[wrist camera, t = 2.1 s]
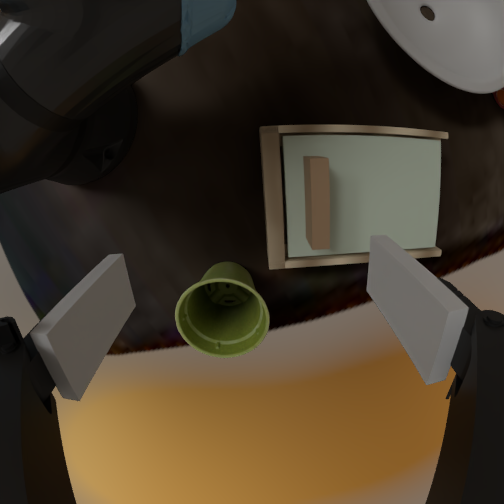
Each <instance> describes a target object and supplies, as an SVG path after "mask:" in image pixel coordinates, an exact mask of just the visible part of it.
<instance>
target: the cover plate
mask: <svg viewBox="0 0 504 504" xmlns="http://www.w3.org/2000/svg"><path fill="white" fill-rule="evenodd" d="M282 151H283V168H284V187H285V208H286V233H287V254H288V257H303V256H318V255H332V254H347V253H361V252H370V236H373V235H387V236H388V237H389V238H390V239H392V240H393V241H394V242H395V243H397V244H398V245H399V246H400V247H401V248H403V249H416V248H430V247H435V242H436V233H437V223H438V212H439V198H440V176H441V141H437V140H427V139H416V138H402V137H386V136H360V135H299V136H282Z"/></svg>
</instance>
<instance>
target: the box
mask: <svg viewBox="0 0 504 504" xmlns="http://www.w3.org/2000/svg"><path fill="white" fill-rule="evenodd" d="M259 132H260V146H261V161H262V176H263V192H264V208H265V224H266V241H267V254H268V263H269V269H283V268H298V267H312V266H326V265H340V264H353V263H365V262H369V254H370V252H361V253H347V254H332V255H318V256H303V257H288V254H287V233H286V208H285V187H284V168H283V151H282V136H299V135H360V136H386V137H402V138H416V139H427V140H437V141H441V138H443V139H448V132H440V131H431V130H422V129H412V128H400V127H385V126H366V125H280V126H260V128H259ZM404 250H405V251H406V252H407V253H409V254H410V255H411V256H412V257H413V258H425V257H436V256H441V251H442V250H440V249H439V248H438V247H436V246H435V247H430V248H416V249H404Z"/></svg>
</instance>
